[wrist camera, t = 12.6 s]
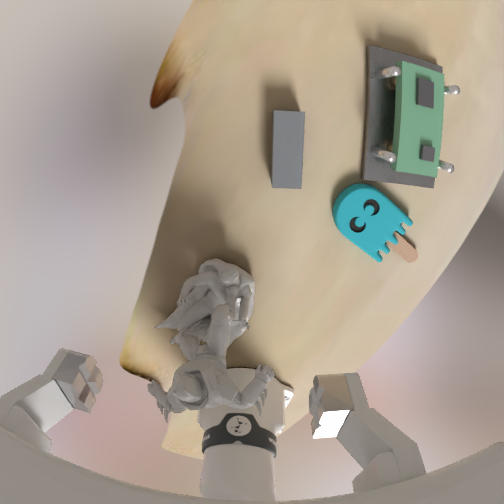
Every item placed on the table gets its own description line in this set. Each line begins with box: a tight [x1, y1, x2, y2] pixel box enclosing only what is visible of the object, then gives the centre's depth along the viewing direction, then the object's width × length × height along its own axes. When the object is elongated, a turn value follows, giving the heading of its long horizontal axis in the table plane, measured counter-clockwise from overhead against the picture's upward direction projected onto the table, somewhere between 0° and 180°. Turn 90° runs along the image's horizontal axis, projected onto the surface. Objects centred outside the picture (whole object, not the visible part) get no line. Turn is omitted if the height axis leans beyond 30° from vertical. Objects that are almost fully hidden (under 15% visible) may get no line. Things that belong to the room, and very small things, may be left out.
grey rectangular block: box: [271, 110, 305, 189], centre depth 28 cm, size 8×3×3 cm, turn 0°
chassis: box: [361, 45, 460, 188], centre depth 24 cm, size 16×10×6 cm, turn 0°
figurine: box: [148, 258, 275, 422], centre depth 31 cm, size 18×13×18 cm
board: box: [390, 61, 444, 177], centre depth 23 cm, size 12×6×2 cm, turn 0°
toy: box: [333, 184, 418, 262], centre depth 33 cm, size 7×2×15 cm
